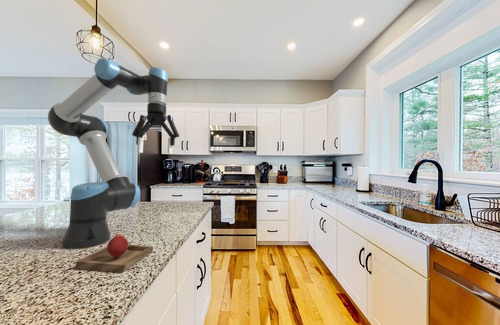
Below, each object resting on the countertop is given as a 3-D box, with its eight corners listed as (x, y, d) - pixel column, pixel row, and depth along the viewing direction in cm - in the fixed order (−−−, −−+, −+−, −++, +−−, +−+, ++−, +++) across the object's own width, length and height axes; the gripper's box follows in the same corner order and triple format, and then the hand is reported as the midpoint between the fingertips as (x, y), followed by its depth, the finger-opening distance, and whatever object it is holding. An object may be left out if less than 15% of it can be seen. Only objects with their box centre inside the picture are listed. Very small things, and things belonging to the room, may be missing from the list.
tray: (75, 268, 61) (76, 261, 61) (113, 249, 76) (113, 243, 76) (123, 272, 60) (123, 265, 60) (152, 251, 75) (152, 246, 75)
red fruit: (113, 254, 70) (114, 230, 71) (130, 254, 71) (131, 230, 71) (102, 261, 65) (103, 235, 65) (121, 261, 65) (123, 235, 65)
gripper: (124, 101, 88) (121, 151, 88) (181, 101, 86) (178, 152, 85) (135, 107, 96) (133, 153, 95) (187, 107, 94) (186, 154, 93)
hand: (154, 153), depth 90 cm, fingers open, 13 cm apart
